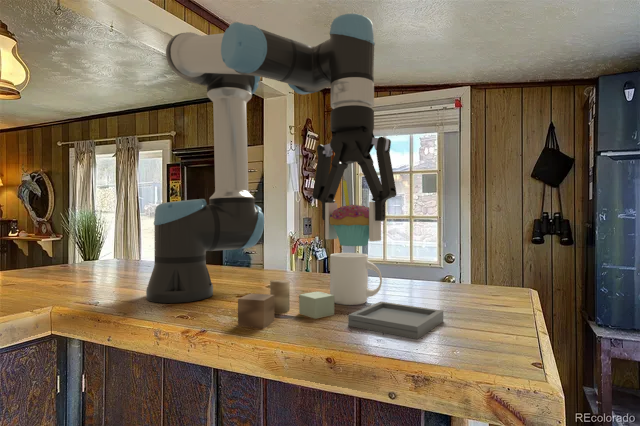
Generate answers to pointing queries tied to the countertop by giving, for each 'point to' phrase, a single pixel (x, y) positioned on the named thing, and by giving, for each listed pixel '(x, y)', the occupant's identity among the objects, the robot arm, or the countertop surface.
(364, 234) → the cupcake
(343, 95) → the robot arm
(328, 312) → the sage block
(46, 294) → the countertop surface
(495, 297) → the countertop surface
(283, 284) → the oak cylinder
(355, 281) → the mug
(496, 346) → the countertop surface
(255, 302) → the walnut block
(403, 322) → the tray
